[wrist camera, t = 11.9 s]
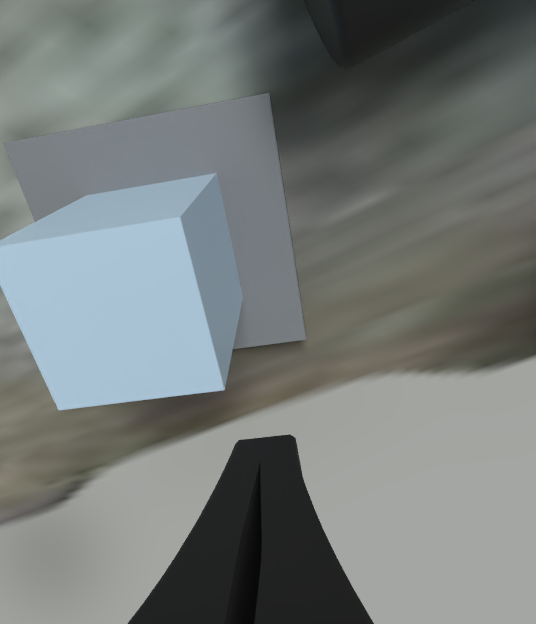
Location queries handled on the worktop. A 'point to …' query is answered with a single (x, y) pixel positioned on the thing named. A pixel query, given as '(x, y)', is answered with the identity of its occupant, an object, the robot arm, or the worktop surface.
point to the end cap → (372, 24)
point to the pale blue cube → (128, 293)
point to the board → (179, 165)
